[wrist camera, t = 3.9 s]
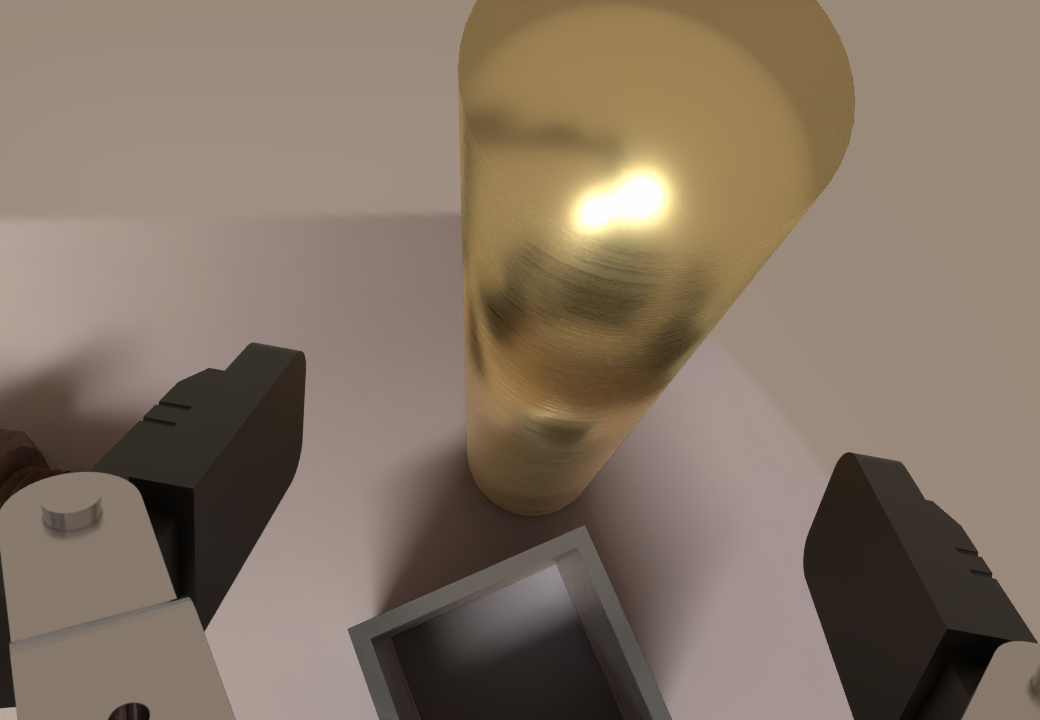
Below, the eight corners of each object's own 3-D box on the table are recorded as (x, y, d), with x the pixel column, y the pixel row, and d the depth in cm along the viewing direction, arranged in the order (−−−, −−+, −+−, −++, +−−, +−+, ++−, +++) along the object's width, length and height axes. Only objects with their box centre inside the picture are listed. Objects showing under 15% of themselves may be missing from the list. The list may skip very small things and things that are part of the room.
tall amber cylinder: (497, 536, 24) (559, 316, 7) (447, 416, 25) (398, -22, 8) (617, 485, 25) (929, 171, 8) (563, 370, 26) (738, -121, 9)
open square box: (450, 846, 22) (445, 907, 17) (372, 629, 23) (347, 629, 19) (650, 747, 23) (698, 777, 18) (562, 545, 24) (585, 525, 20)
